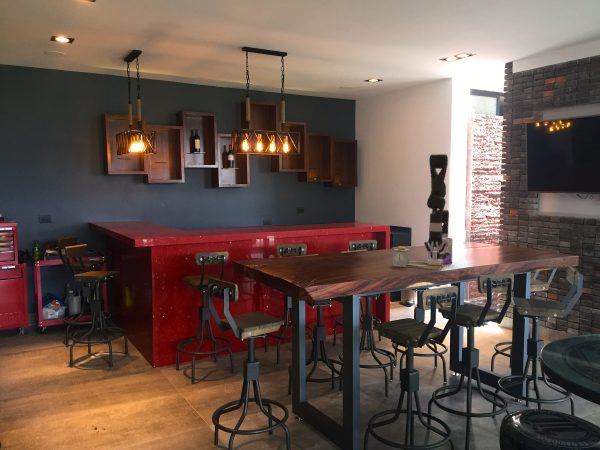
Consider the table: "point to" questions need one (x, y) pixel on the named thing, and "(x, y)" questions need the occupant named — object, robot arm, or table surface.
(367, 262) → the table surface
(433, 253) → the carriage
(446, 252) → the candy box
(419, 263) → the rail board
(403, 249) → the button
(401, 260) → the gauge cabinet
